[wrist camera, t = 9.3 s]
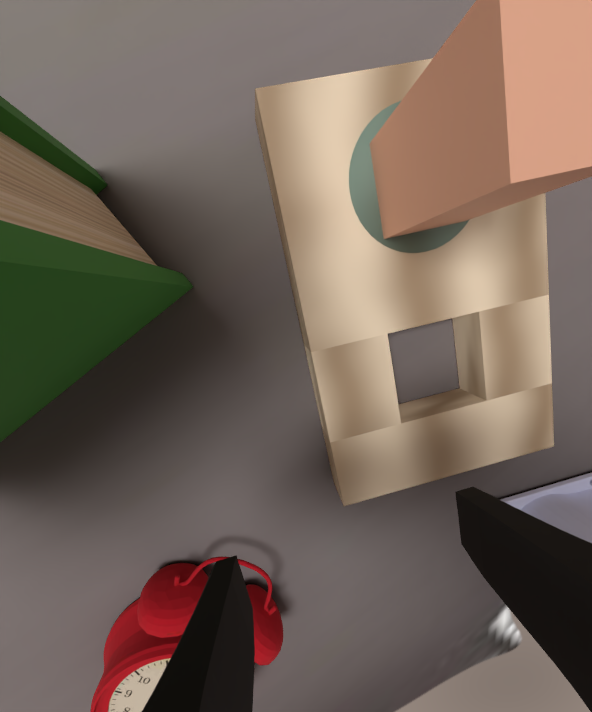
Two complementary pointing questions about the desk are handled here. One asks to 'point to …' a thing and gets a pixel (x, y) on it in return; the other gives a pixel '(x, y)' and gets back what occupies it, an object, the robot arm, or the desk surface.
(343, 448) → the pocket board
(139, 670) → the alarm clock
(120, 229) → the hardback book
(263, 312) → the desk surface
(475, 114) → the peg
